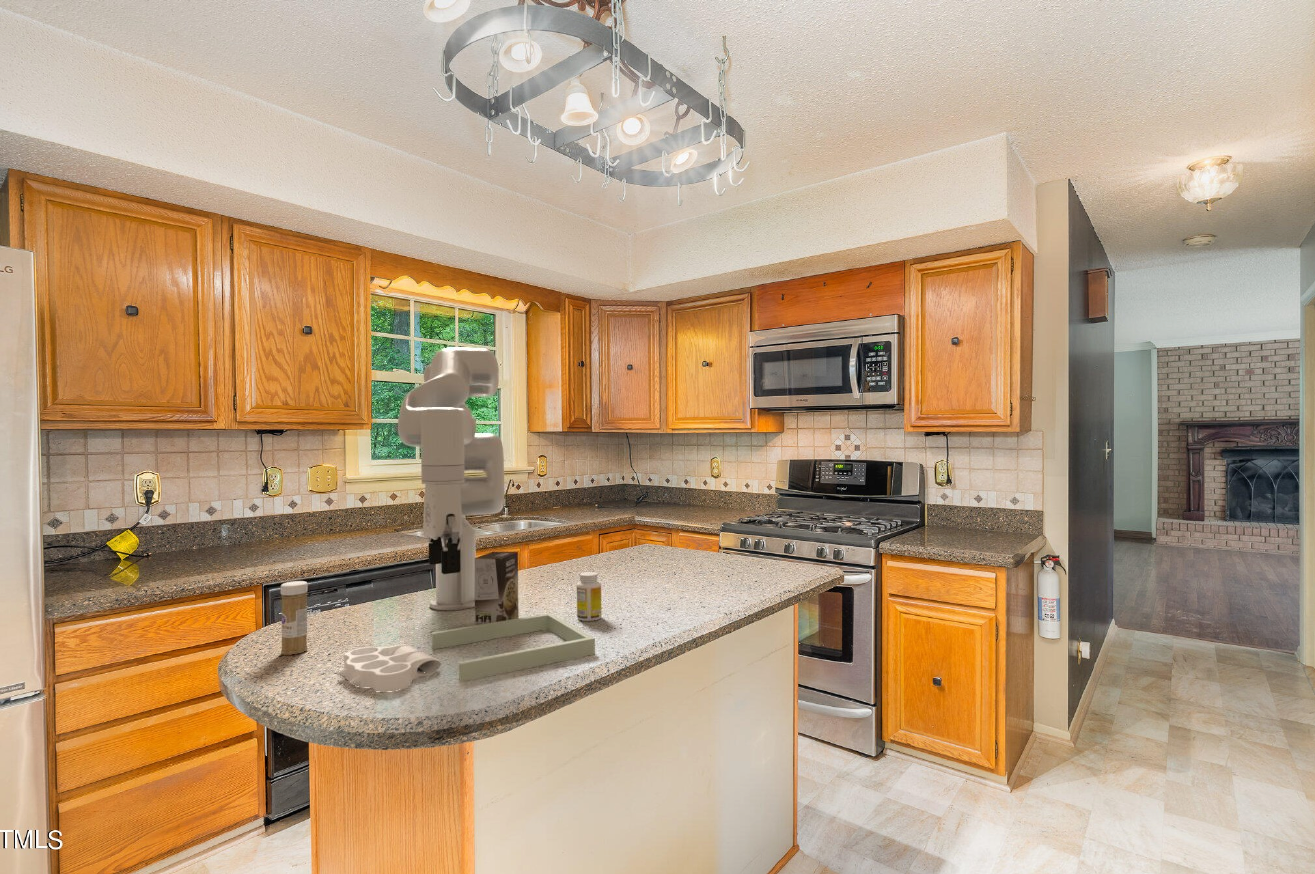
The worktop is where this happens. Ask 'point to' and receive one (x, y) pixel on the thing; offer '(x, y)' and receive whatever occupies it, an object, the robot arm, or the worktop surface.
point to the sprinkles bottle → (294, 617)
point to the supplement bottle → (588, 597)
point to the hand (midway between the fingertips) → (444, 568)
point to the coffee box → (496, 587)
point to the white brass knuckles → (387, 667)
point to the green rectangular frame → (517, 660)
